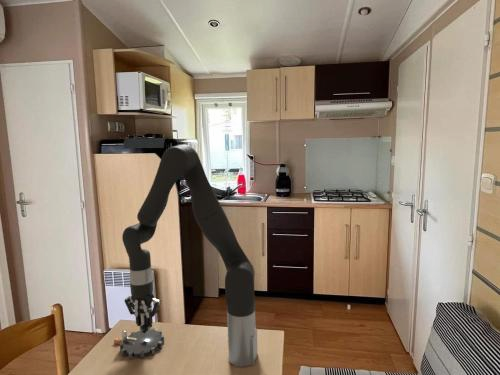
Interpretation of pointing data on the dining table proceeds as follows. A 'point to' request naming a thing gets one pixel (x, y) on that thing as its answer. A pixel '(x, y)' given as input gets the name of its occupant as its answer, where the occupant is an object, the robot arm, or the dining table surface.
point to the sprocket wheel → (141, 343)
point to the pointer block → (117, 340)
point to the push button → (143, 320)
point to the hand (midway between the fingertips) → (144, 325)
